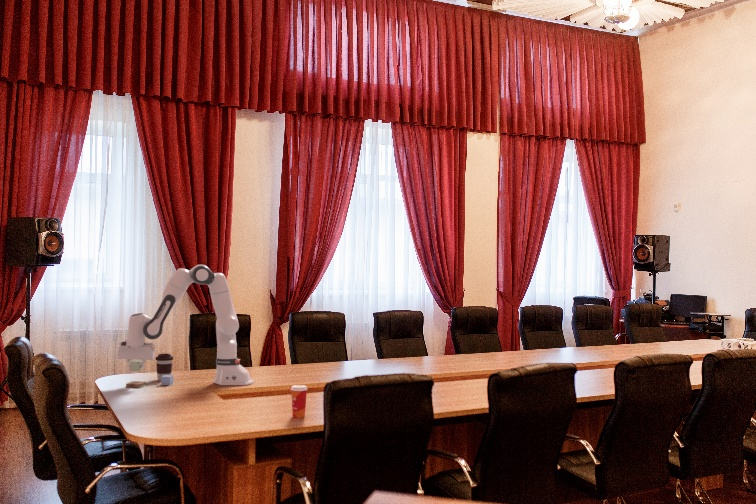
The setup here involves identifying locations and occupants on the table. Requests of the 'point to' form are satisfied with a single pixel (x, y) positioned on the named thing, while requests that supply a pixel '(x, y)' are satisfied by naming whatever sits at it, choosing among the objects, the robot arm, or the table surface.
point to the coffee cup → (164, 365)
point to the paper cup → (298, 400)
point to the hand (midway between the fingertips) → (136, 367)
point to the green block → (135, 366)
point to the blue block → (167, 380)
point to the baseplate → (135, 384)
